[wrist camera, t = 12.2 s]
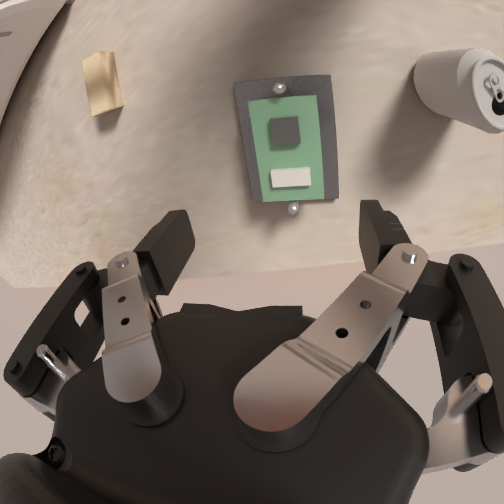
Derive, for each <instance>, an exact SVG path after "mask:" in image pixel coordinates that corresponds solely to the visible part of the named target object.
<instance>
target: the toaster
mask: <svg viewBox="0 0 504 504" xmlns="http://www.w3.org/2000/svg"><path fill="white" fill-rule="evenodd" d="M74 1H75V0H0V124H1V121H2V118H3V116H4V113H5V110H6V108H7V105H8V103H9V100H10V98H11V95H12V93H13V91H14V88H15V86H16V84H17V82H18V80H19V78H20V76H21V73H22V71H23V69H24V68H25V66H26V64H27V62H28V60H29V58H30V56H31V54H32V53H33V51H34V49H35V47H36V46H37V44H38V42H39V41H40V39H41V37H42V36H43V34H44V33H45V31H46V29H47V28H48V26H49V25H50V23H51V22H52V21H53V19H54V18H55V16H56V15H57V13H58V12H59V11H60V9H61V8H62V7H63V5H64V4H67V5H70V4H72V3H73V2H74Z"/></svg>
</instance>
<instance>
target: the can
mask: <svg viewBox="0 0 504 504" xmlns="http://www.w3.org/2000/svg"><path fill="white" fill-rule="evenodd" d="M413 79H414V84H415V89H416V91H417V93H418V95H419V97H420V99H421V100H422V102H423V103H424V104H425V105H426V107H428V108H429V109H430V110H432V111H433V112H434V113H437V114H440V115H443V116H446V117H449V118H452V119H455V120H457V121H460V122H463V123H466V124H468V125H471V126H473V127H476V128H478V129H481V130H483V131H485V132H488V133H500V132H503V131H504V61H503V60H502V59H500V58H498V57H497V56H496V55H495V54H493V53H491V52H490V51H488V50H485V49H480V48H469V49H457V50H448V51H440V52H433V53H429V54H426V55H423V56H422V57H421V58H420V59H419V60H418V61H417V64H416V66H415V68H414V78H413Z"/></svg>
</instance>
